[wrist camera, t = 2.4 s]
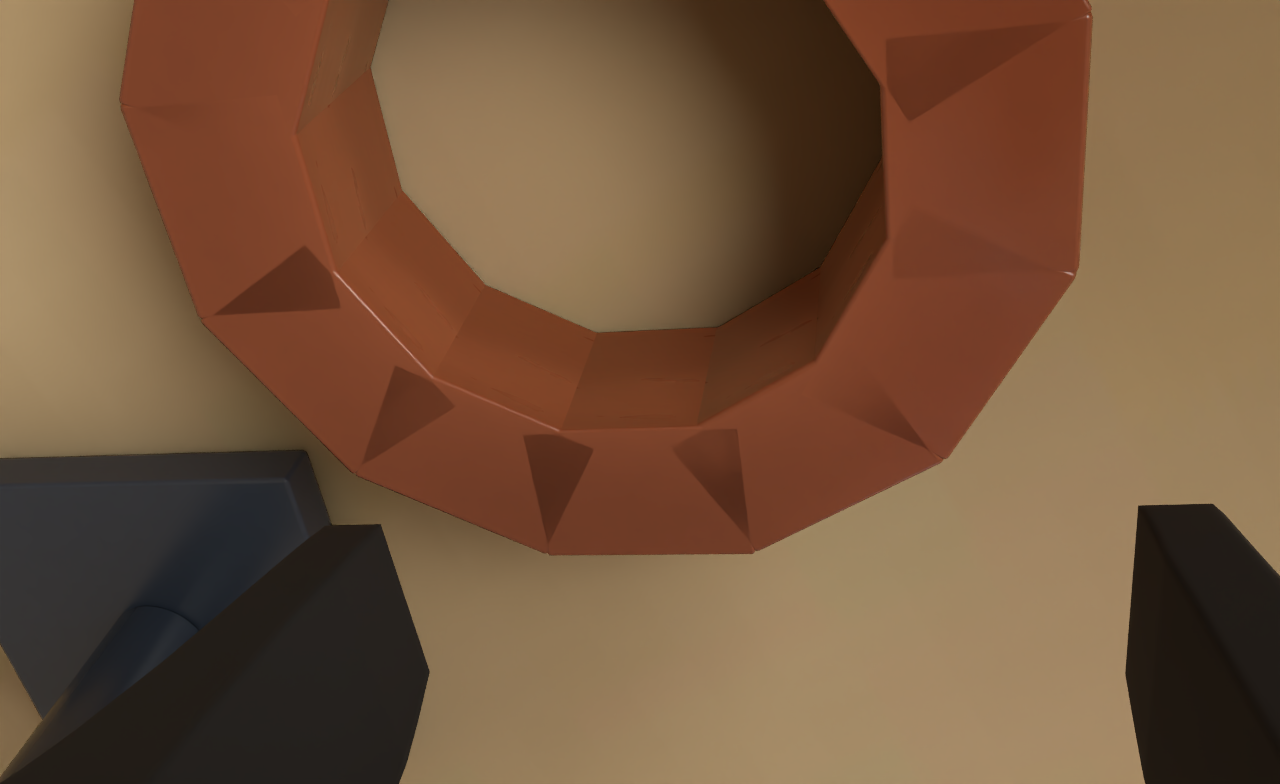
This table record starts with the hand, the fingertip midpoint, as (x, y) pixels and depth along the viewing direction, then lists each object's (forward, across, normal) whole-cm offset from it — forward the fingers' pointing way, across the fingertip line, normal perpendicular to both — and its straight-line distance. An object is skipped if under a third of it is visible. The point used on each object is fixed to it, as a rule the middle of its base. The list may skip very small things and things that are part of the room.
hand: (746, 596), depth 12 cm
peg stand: (+9, +14, +8) cm, 18 cm away
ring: (+9, +2, -2) cm, 9 cm away
